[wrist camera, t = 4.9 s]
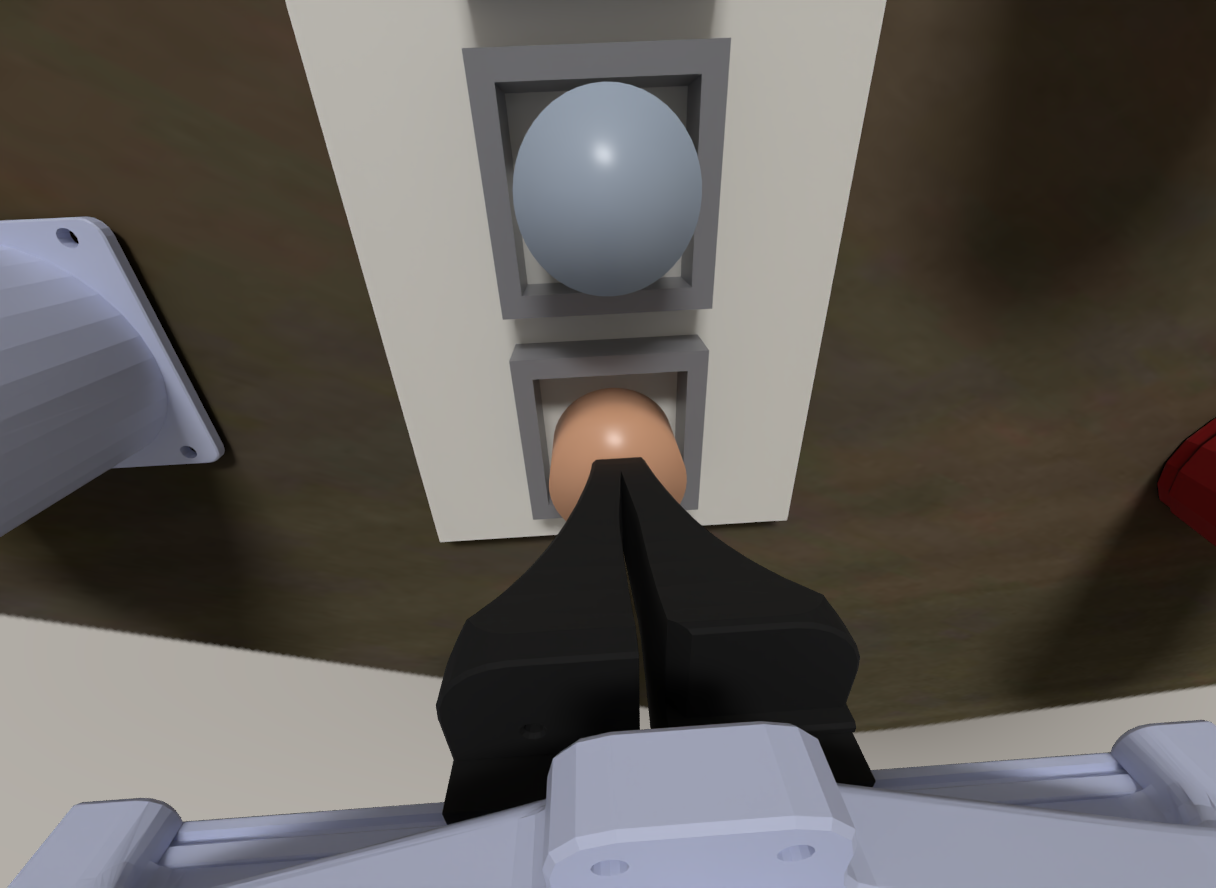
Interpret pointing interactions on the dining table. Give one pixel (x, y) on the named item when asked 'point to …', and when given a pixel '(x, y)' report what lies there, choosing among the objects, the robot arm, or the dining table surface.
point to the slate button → (607, 189)
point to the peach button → (612, 443)
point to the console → (547, 309)
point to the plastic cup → (1193, 482)
